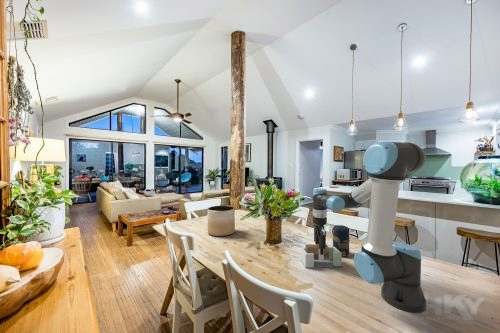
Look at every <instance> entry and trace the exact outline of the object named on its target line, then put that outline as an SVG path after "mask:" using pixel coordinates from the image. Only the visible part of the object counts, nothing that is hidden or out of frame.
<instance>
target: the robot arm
mask: <svg viewBox="0 0 500 333" xmlns="http://www.w3.org/2000/svg"><path fill="white" fill-rule="evenodd" d="M426 158H427V157H426V153H425V151H424V149H423V148H422V147H421V146H419V145H418V144H416V143H413V142H409V141H408V142H407V141H405V142H402V141H401V142H399V141H380V142H375V143H373V144H371V145H370V146H369V147H368V148H366V150H365V151H364V153H363V157H362V166H363V167H364V170H365V171H366V172H367V173H368V179H366V181H364V182H363V183H362V184H360V185H359V186H357V187H356V188H355V189H353V190H352V191H351V192H349V193H346V194H345V193H344V194H329V193H328V190H327V189H326V188H314V189H313V190H312V223H313V242H314V245H319V247H318V260H324V249H326V245H327V243H326V242H327V239H326V238H327V231H326V230H325V227H324V226H325V225H327V224H328V221H327V220H328V217H327V216H328V210H330V211H333V212H342V210H346V209H359V208H363V207H364V206H365V204H366V202H367V201H368V200H370V203H369V204H370V205H369V213H368V222H367V223H368V226H367V232H366V233H367V234H366V240H363V241H362V244H361V249H360V250H361V251H360V250H359V251H357V252H356V253H355V254H354V256H353V264H354V267H355V270H356V271H357V273H358V275H359V276H360V277H361V278H362V279H363V280H364V281H365V282H366V283H369V284H371V285H376V284H382V287H381V290H380V295H381V298H382V299H383V300H384V301H385V302H386V303H387V304H389V305H390V306H392V307H395V308H396V309H399V310H402V311H405V312H410V313H422V312H425V310H426V309H427V301H426V298H425V297H426V296H425V295H424V292H423V290H422V285H421V284H422V283H421V281H422V280H421V279H422V278H421V277H422V274H421V273H422V255H421V250H419V248H418V247H415V246H414V245H411V244H408V243H405V242H402V241H401V242H400V241H394V234H395V226H396V218H397V211H398V210H397V209H398V208H397V207H398V198H399V191H400V185H401V184H403V182H405V181H406V180H407V179H408V178H409V177H411V176H413V175H415V174H416V173H418V172H419V171H420V170H421V169H422V168H424V167H423V166H424V165H425V163H426Z"/></svg>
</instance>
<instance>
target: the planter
mask: <svg viewBox="0 0 500 333" xmlns="http://www.w3.org/2000/svg"><path fill="white" fill-rule="evenodd" d="M235 214H236V212H235V207H234V206H231V205H225V204H224V205H213V206H210V207H207V233H208V235H210V236H213V237H227V236H230V235H233V234H234V233H235V231H236V221H235V220H236V219H235V218H236V217H235Z"/></svg>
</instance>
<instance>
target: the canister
mask: <svg viewBox="0 0 500 333" xmlns="http://www.w3.org/2000/svg"><path fill="white" fill-rule="evenodd" d="M332 247H335V248H336V249H338V250H339V251H340V252H341V253H342V257H347V256H349V255H350V229H349V227H348V226H345V225H342V224H340V225H339V224H338V225H337V224H336V225H333V226H332Z"/></svg>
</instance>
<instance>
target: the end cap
mask: <svg viewBox="0 0 500 333" xmlns="http://www.w3.org/2000/svg"><path fill="white" fill-rule="evenodd" d="M328 247H329V260H333V266H342V261H343V260H342V258H343V256H342V253H341V252H340V251H339V250H338V249H336V248H335V247H333V246H328Z"/></svg>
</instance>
